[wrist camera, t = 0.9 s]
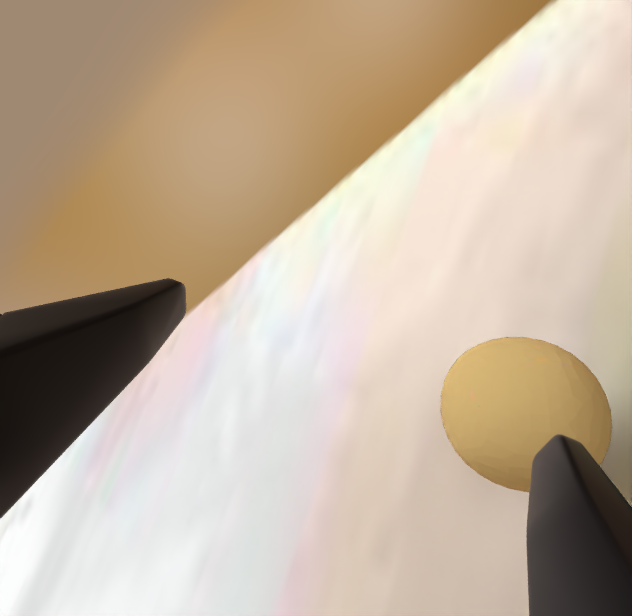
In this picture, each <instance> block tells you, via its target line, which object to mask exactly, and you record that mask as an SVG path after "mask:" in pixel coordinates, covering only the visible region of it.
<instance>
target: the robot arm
mask: <svg viewBox="0 0 632 616" xmlns="http://www.w3.org/2000/svg"><path fill="white" fill-rule="evenodd" d="M185 313H186V290H185V286H184V284H182V283H181V282H178V281H176V280H173V279H163V280H158V281H153V282H148V283H143V284H139V285H134V286H129V287H125V288H120V289H115V290H111V291H106V292H101V293H96V294H92V295H87V296H82V297H77V298H72V299H68V300H63V301H58V302H54V303H49V304H44V305H39V306H34V307H30V308H25V309H20V310H16V311H11V312H6V313H4V314H3V315H2V314H0V518H2V517H3V516H4V515H5V514H6V512H7V511H8V510H9V509H10V508H11V507H12V506H13V505H14V504H15V503H16V502H17V501H18V500H19V499H20V498H21V497H22V496H23V495H24V494H25V492H26V491H27V490H28V489H29V488H30V487H31V486H32V485H33V484H34V483H35V482H36V481H37V480H38V479H39V478H40V477H41V476H42V475H43V474H44V473H45V471H46V470H47V469H48V468H49V467H50V466H51V465H52V464H53V463H54V462H55V461H56V460H57V459H58V458H59V457H60V456H61V455H62V454H63V453H64V452H65V450H66V449H67V448H68V447H69V446H70V445H71V444H72V443H73V442H74V441H75V440H76V439H77V438H78V437H79V436H80V435H81V434H82V433H83V432H84V430H85V429H86V428H87V427H88V426H89V425H90V424H91V423H92V422H93V421H94V420H95V419H96V418H97V417H98V416H99V415H100V414H101V413H102V412H103V411H104V409H105V408H106V407H107V406H108V405H109V404H110V403H111V402H112V401H113V400H114V399H115V398H116V397H117V396H118V395H119V394H120V393H121V392H122V391H123V390H124V388H125V387H126V386H127V385H128V384H129V383H130V382H131V381H132V380H133V379H134V378H135V377H136V376H137V375H138V374H139V373H140V372H141V371H142V370H143V368H144V367H145V366H146V365H147V364H148V363H149V362H150V361H151V359H152V358H153V357H154V356H155V354H156V353H157V352H158V350H159V349H160V348H161V347H162V345H163V344H164V343H165V341H166V340H167V339H168V337H169V336H170V335H171V333H172V332H173V331H174V330H175V328H176V327H177V326H178V324H179V323H180V322H181V320H182V319H183V318H184V316H185ZM527 566H528V593H529V616H632V507H631V506H630V505H629V503H628V502H627V501H626V500H625V498H624V497H623V496H622V494H621V493H620V492H619V490H618V489H617V488H616V487H615V485H614V484H613V483H612V481H611V480H610V479H609V478H608V476H607V475H606V474H605V472H604V471H603V470H602V469H601V467H600V466H599V465H598V463H597V462H596V461H595V460H594V458H593V457H592V456H591V454H590V453H589V452H588V451H587V449H586V448H585V447H584V446H583V444H582V443H581V442H579V441H577V440H575V439H572V438H570V437H567V436H565V435H562V434H557V435H555V436H554V437H552V438H551V439H550V440H549V441H548V442H547V443H546V444H545V446H544V447H543V448H542V449H541V450H540V451H539V452H538V453H537V454H536V455H535V457H534V459H533V462H532V470H531V482H530V495H529V507H528V519H527Z"/></svg>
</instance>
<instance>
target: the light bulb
mask: <svg viewBox="0 0 632 616" xmlns="http://www.w3.org/2000/svg"><path fill="white" fill-rule="evenodd" d="M441 415H442V421H443V425H444V428H445V431H446V434H447V436H448V439H449V440H450V442H451V444H452V446H453V447H454V449H455V451H456V452H457V453H458V455H459V456H460V457H461V458H462V459H463V461H464V462H465V463H466V464H467V465H468V466H470V467H471V468H472V469H473V470H475V471H476V472H477V473H478V474H480V475H481V476H483V477H485V478H487V479H488V480H490V481H492V482H494V483H496V484H499V485H502V486H504V487H507V488H510V489H514V490H520V491H525V492H530V482H531V470H532V462H533V459H534V457H535V455H536V454H537V453H538V452H539V451H540V450H541V449H542V448H543V447H544V446H545V444H546V443H547V442H548V441H549V440H550V439H551V438H552V437H554V436H555V435H557V434H562V435H565V436H567V437H570V438H572V439H575V440H577V441H579V442H581V443H582V444H583V446H584V447H585V448H586V449H587V451H588V452H589V453H590V454H591V456H592V457H593V458H594V460H595V461H596V462H597V463H598V465H600V463H601V462H602V461H603V459H604V457H605V455H606V452H607V450H608V447H609V445H610V440H611V433H612V420H611V410H610V407H609V404H608V401H607V397H606V394H605V392H604V390H603V389H602V387H601V385H600V383H599V381H598V380H597V378H596V377H595V376H594V375H593V373H592V372H591V371H590V370H589V369H588V367H587V366H586V365H585V364H584V363H583V362H581V361H580V360H579V359H578V358H576V357H575V356H574V355H573V354H571V353H569V352H568V351H566V350H564V349H562V348H560V347H558V346H556V345H553V344H551V343H548V342H545V341H542V340H537V339H531V338H525V337H506V338H500V339H493V340H490V341H487V342H484V343H481V344H479V345H477V346H475V347H473V348H471V349H470V350H468V351H466V352H465V353H464V354H463V355H462V356H460V357H459V358H458V359H457V360H456V362H455V363H454V364H453V366H452V367H451V369H450V370H449V372H448V374H447V376H446V378H445V381H444V384H443V389H442V394H441Z"/></svg>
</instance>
